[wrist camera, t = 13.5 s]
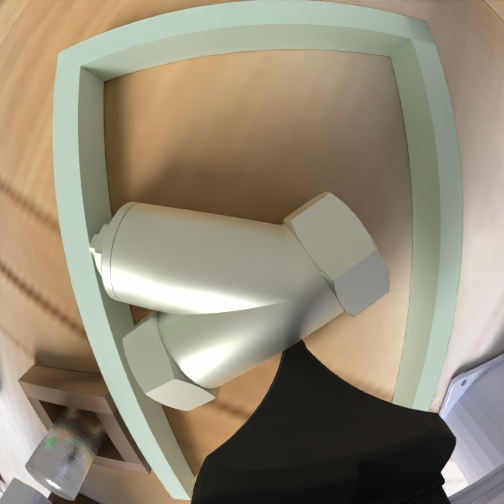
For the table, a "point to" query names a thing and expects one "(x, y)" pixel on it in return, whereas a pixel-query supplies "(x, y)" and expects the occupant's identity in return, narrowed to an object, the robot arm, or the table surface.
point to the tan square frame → (87, 398)
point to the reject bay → (238, 40)
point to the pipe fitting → (230, 288)
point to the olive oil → (62, 503)
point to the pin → (67, 452)
